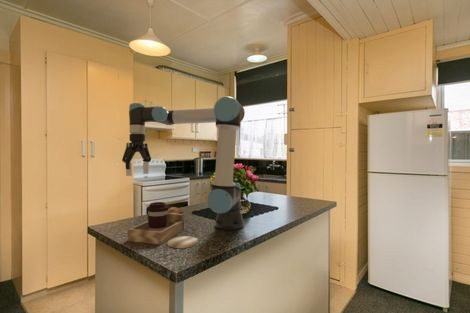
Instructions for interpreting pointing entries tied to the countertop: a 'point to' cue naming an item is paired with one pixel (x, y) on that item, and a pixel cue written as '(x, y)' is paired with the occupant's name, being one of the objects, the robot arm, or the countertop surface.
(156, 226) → the coffee cup
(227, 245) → the countertop surface
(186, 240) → the disc
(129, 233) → the open wooden box
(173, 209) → the bread roll
